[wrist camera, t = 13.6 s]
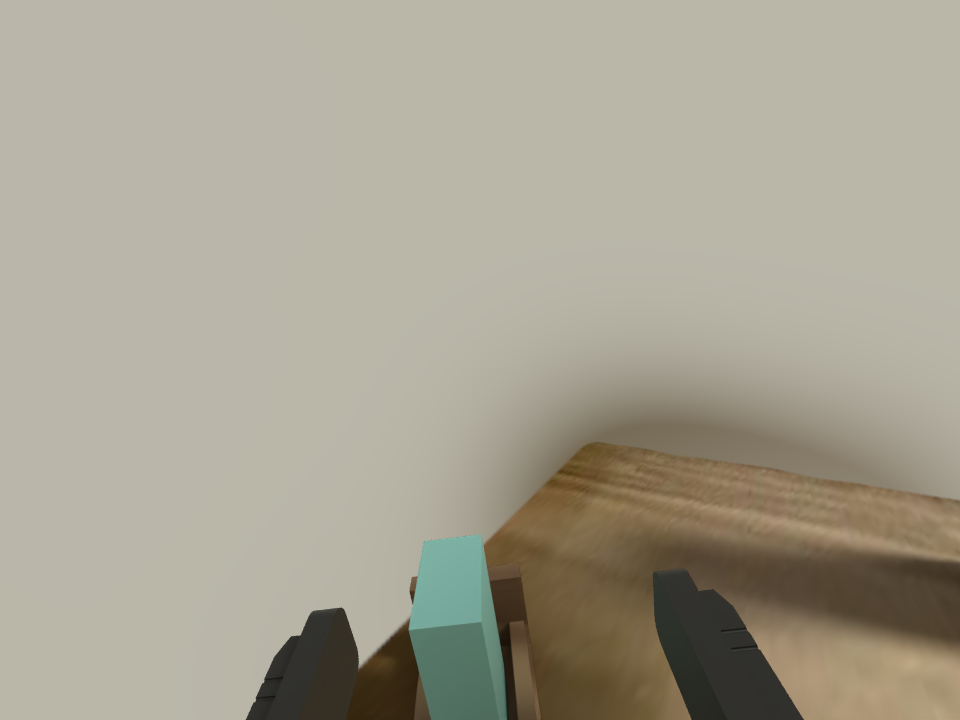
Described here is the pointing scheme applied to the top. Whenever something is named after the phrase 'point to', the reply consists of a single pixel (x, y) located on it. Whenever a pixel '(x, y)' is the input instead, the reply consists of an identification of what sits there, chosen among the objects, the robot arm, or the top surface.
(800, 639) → the top surface
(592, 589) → the top surface
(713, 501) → the top surface
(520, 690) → the brown wooden drawer
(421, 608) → the teal rectangular block
